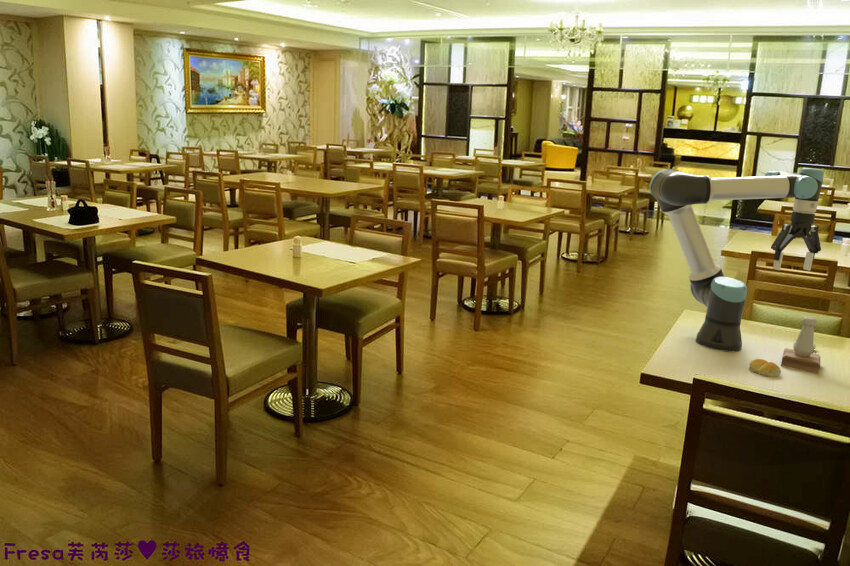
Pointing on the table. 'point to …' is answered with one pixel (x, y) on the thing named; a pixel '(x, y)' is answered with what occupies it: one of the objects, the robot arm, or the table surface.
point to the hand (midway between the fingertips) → (791, 269)
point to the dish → (813, 345)
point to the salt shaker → (805, 338)
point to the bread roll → (765, 368)
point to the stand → (801, 361)
